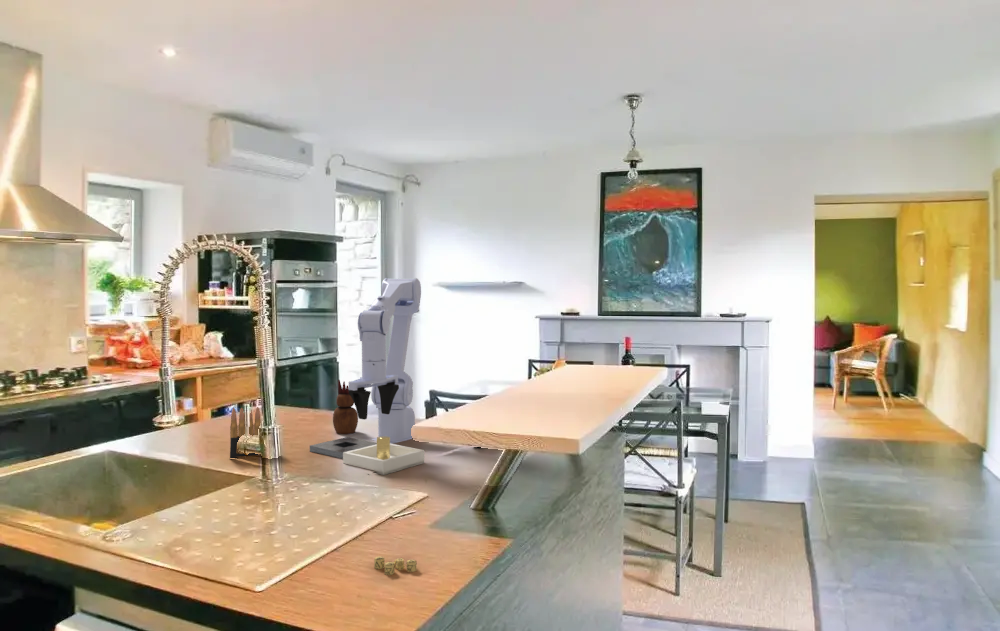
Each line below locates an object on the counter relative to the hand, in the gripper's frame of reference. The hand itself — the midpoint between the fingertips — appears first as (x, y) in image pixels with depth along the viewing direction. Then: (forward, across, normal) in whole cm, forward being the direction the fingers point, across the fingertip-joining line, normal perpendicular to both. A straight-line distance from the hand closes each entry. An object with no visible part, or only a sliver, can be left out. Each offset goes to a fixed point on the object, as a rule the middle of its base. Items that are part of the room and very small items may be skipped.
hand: (374, 416), depth 172 cm
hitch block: (+9, +3, -7) cm, 12 cm away
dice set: (+10, +46, +52) cm, 70 cm away
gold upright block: (+9, +5, +8) cm, 13 cm away
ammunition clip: (+10, +19, -21) cm, 30 cm away
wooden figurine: (+10, -11, -23) cm, 27 cm away
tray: (+9, +5, +8) cm, 13 cm away
